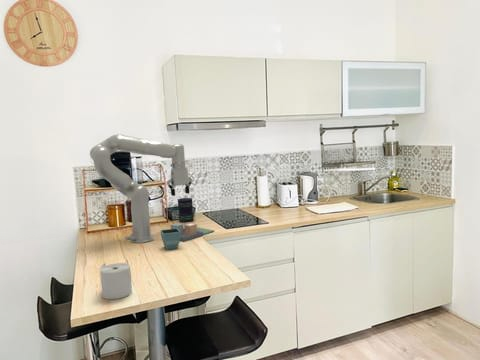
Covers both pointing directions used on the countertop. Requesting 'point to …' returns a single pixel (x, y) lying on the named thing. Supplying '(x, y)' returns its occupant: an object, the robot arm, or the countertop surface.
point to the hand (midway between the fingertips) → (180, 194)
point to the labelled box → (190, 229)
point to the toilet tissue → (116, 280)
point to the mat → (205, 230)
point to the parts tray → (190, 236)
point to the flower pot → (170, 238)
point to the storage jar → (185, 210)
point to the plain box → (179, 227)
